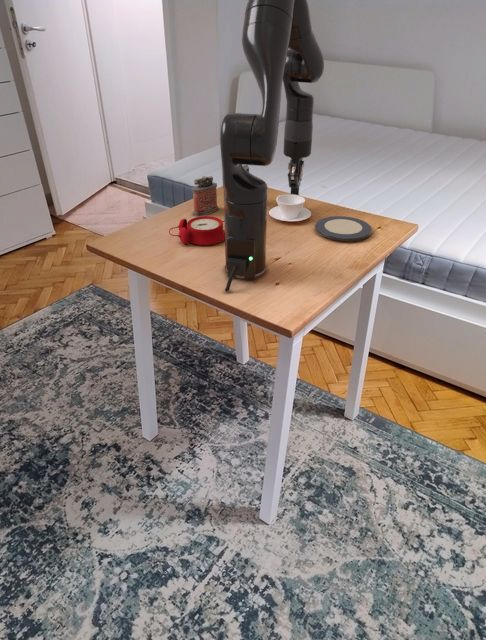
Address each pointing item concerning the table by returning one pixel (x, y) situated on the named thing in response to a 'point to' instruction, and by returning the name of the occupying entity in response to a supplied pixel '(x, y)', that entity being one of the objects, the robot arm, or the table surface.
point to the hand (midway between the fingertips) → (294, 199)
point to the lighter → (204, 196)
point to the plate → (343, 228)
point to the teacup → (290, 208)
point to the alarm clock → (201, 230)
